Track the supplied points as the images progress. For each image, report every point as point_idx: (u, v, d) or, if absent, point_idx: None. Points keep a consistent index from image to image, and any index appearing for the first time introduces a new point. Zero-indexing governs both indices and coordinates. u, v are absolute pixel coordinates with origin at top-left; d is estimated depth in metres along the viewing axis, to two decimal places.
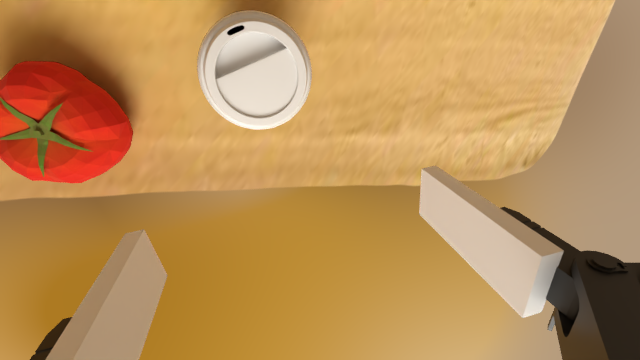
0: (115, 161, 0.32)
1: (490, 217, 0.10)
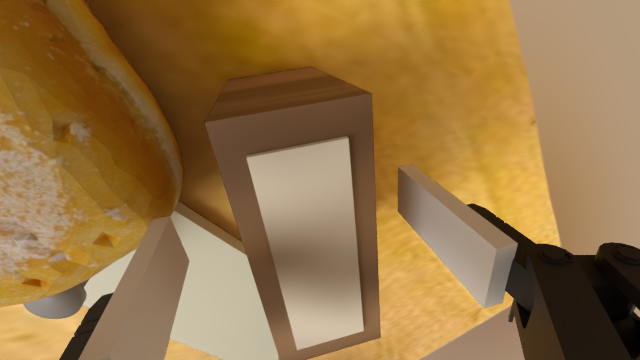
0: None
1: (455, 212, 0.11)
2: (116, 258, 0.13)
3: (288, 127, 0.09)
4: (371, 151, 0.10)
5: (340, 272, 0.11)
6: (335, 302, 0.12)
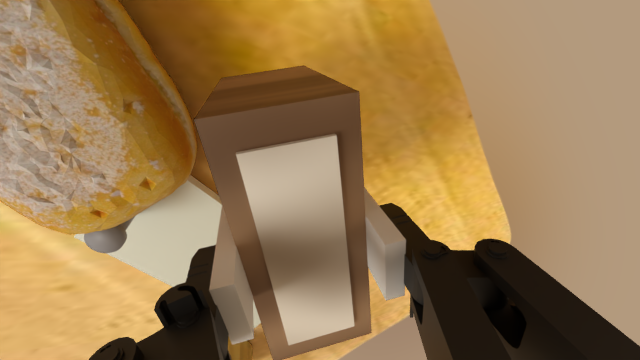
0: None
1: None
2: (151, 201, 0.19)
3: (278, 124, 0.09)
4: (359, 148, 0.10)
5: (330, 268, 0.12)
6: (326, 297, 0.12)
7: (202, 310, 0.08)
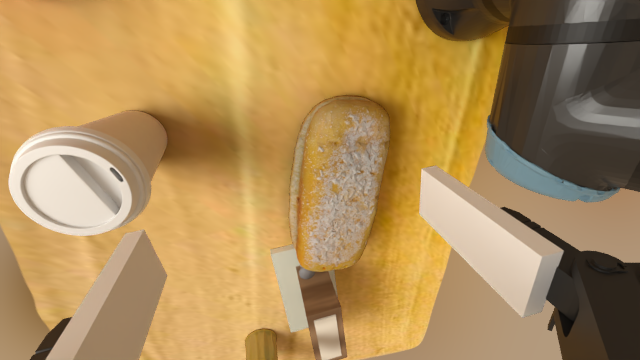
0: None
1: (490, 217, 0.10)
2: (336, 269, 0.44)
3: (323, 314, 0.40)
4: (341, 315, 0.41)
5: (334, 341, 0.43)
6: (333, 348, 0.44)
7: None
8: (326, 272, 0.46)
